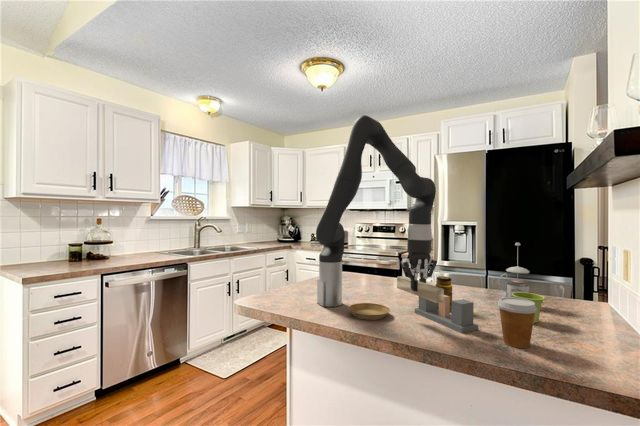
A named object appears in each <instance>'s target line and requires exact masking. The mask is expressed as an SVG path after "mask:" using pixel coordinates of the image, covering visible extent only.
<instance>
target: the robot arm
mask: <svg viewBox="0 0 640 426" xmlns="http://www.w3.org/2000/svg"><path fill="white" fill-rule="evenodd" d="M348 139H349V140H348V143H347V147H346V151H345V154H344V157H343V159H342V163H341V166H340V169H339V171H338V172H337V173H338V174H337V176H336V180H335V181H334V184H333V188H332V191H331V192H330V193H331V194H330V196H329V199H328V202H327V205H326V207H325V210H324V212H323V215H321V218H320V219H319V222H318V224H317V226H316V229H315V236H316V240H317V241H318V243H319V244H320V245H323V249H322V250H321V252H320V253H319V256H318V268H319V269H318V279H317V280H316V281H317V283H316V284H317V285H316V287H317V288H316V290H317V291H316V299H317V300H316V302H317V304H318V305H320V306H321V307H327V308H328V307H329V308H331V307H333V308H334V307H340V306H341V305H343V256H344V253H345V239H346V238H345V229H344V227H343V225H342V223H340V222H341V218H342V216H343V214H344V212H345V211H346V209H348V207H349V205H350V204H351V203H352V202H353V200H354V199H355V197H356V196H357V193H358V190H359V187H360V185H361V182H362V176H363V168H362V166H363V165H362V158H363V153H364V149H365V146H366V145H370V146H371V148H373V149H375V150H376V151H377V152H378V153H379V154H380V155H381V157H382V159H383V161H384V163H385V165H386V166H387V168H388V169H389V170H390V172H391V173H392V174H393V175H394V176H395V177H396V178H397V180H398V181H399V184H400V185H401V187H402V190H404V192H405V193H406V195H408V196H409V197H411V198H413V199H415V203H414V205H413V206H411V207H409V210H408V227H407V248H406V250H407V253H408V255H407V257H406V259H405V260H400V262H399V263H400V266H401V269H402V271H403V274H404V277H407V278H410V279H411V289H412V291H417V289H418V281H420V282H423V283H426V284H427V279H429V278H432V276H433V273H434V271H435V268H436V266H437V264H438V261H437V260H436V259H433V258H432V257H431V252H432V240H433V239H432V237H433V236H432V235H433V234H432V231H433V230H432V209H433V207H434V202H435V200H436V199H435V198H436V192H437V188H436V184H435V182H434V181H433V179H431V178H429V177H424V176H420V175H419V174H418V173H417V168H416V166H415V164H414V163H413V162H412V161H411V160H410V159H409V158H408V156H406V154H404V152H403V151H401V149H399V147H398V146H397V145H396V144H395V143H394V142H393V140H392V139H391V137H390V136H389V135H388V133H387V131H386V130H385V128H384V127H383V125H382V124H381V122H380V121H378V120H377V119H375V118H373V117H370V116H369V115H360V116H358V117H357V119H356V120H355V121H354V123H353V125H352V127H351V131H350V136H349V138H348ZM418 276H419V279H418Z"/></svg>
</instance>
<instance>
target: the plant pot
mask: <svg viewBox="0 0 640 426" xmlns="http://www.w3.org/2000/svg"><path fill="white" fill-rule="evenodd" d="M512 295H513V297H514V298H521V299H526V300H530V301H532V302H534V303H535V306H536V307H537V310H536V312H535V315H534V322H533V324H536V323H537V324H539V319H540V314H541V309H542V304H543V301H544V300H545V299H546V298H545V296H543V295H539V294H537V293H531V292H529V293H525V292H521V291H520V292H513V293H512Z"/></svg>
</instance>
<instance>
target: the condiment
mask: <svg viewBox="0 0 640 426" xmlns="http://www.w3.org/2000/svg"><path fill="white" fill-rule="evenodd" d="M435 286H436V287H439V288H442V289H444V295H447V296H450V312H452V301H453V285H452V278H451V277H450V276H445V275H444V276H443V275H442V276H437V277H436V284H435ZM437 309H438V310H439V303H437Z"/></svg>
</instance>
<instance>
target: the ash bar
mask: <svg viewBox="0 0 640 426" xmlns="http://www.w3.org/2000/svg"><path fill="white" fill-rule="evenodd" d="M396 289H400V290H401V291H404V292H407V293H409V294H412V295H415V296H418V297H419V296H420V297H422V298H425V299H428V300H430V301H433V302H436V303H441V302H444V289H442V288H439V287H436V285H432V284H429V283H427V282H426V283H423V282H420V281H419V280H418V289H417V291H412V289H411V279H410V278H408V277H406V276H405V275H404V276H403V275H401V276H397V277H396Z"/></svg>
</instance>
